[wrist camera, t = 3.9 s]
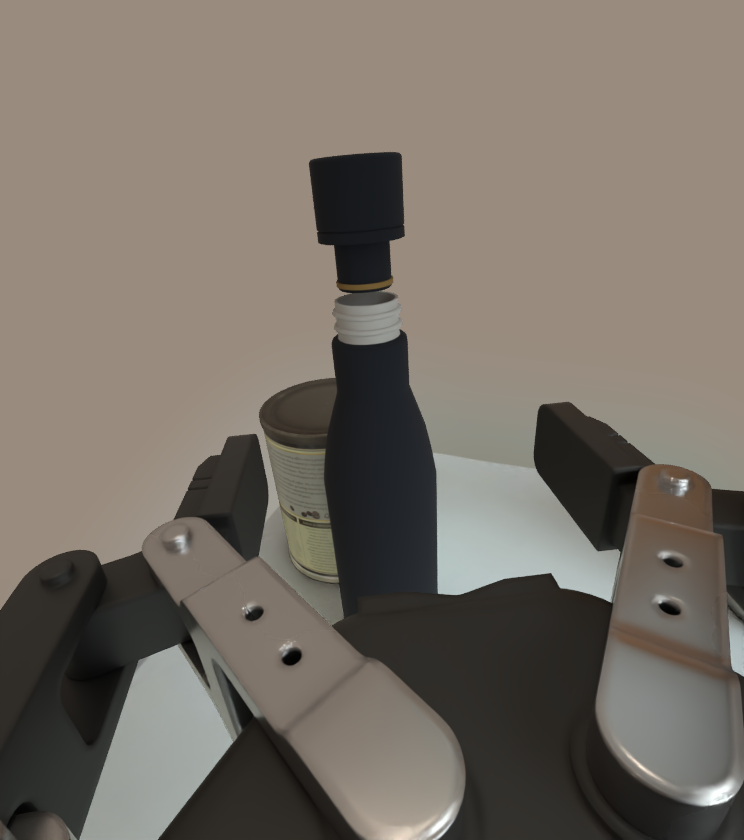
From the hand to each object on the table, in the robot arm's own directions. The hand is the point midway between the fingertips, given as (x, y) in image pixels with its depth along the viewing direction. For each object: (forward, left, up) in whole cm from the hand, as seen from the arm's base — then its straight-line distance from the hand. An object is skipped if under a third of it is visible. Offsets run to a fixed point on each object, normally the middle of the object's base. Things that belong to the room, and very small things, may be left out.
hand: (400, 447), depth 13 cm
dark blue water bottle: (-2, -11, -22) cm, 25 cm away
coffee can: (-1, -22, -22) cm, 31 cm away
